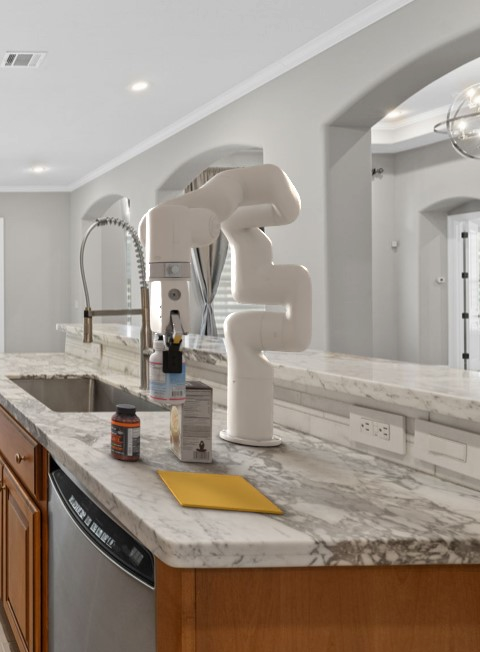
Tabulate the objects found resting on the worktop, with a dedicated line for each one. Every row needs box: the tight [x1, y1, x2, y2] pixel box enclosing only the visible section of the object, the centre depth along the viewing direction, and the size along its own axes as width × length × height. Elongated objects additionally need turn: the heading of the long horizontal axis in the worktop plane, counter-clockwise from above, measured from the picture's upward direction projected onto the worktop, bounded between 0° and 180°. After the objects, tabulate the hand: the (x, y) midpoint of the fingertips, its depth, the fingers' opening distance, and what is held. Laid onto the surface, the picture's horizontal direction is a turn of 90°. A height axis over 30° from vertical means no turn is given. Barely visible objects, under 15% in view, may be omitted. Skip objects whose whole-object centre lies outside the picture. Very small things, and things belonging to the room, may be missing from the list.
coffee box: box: [169, 380, 214, 464], centre depth 119 cm, size 9×6×16 cm
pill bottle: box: [148, 340, 187, 405], centre depth 101 cm, size 6×6×11 cm
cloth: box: [156, 469, 284, 515], centre depth 98 cm, size 18×15×1 cm
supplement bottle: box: [110, 403, 141, 462], centre depth 118 cm, size 6×6×11 cm
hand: (167, 369), depth 101 cm, fingers closed on pill bottle, 6 cm apart
